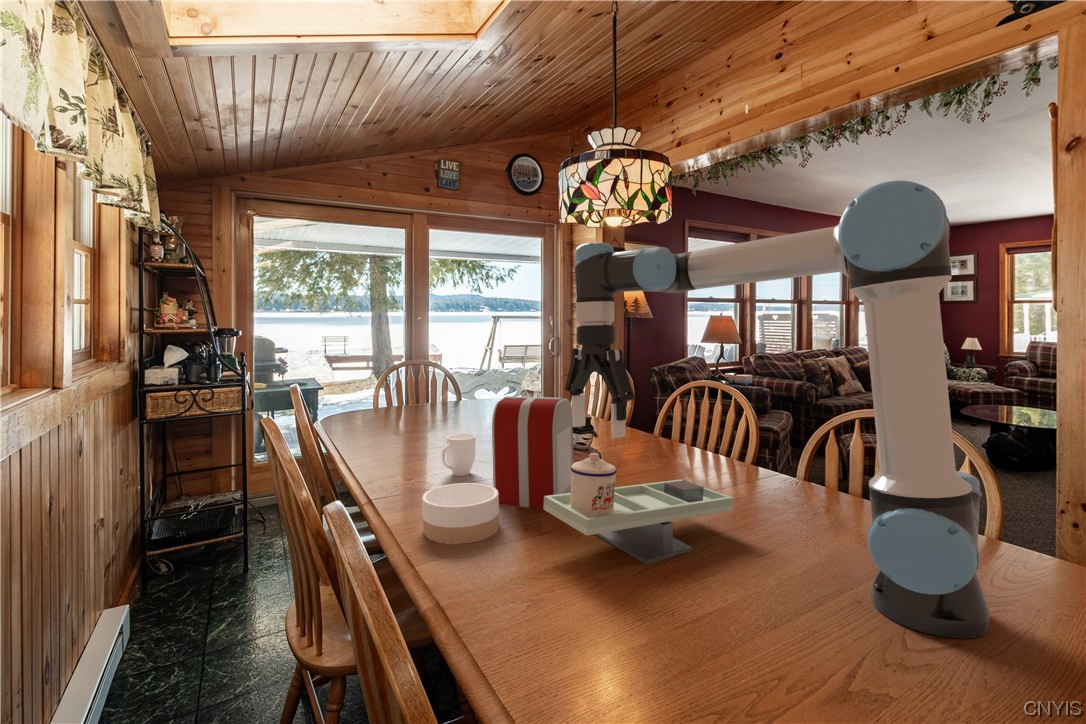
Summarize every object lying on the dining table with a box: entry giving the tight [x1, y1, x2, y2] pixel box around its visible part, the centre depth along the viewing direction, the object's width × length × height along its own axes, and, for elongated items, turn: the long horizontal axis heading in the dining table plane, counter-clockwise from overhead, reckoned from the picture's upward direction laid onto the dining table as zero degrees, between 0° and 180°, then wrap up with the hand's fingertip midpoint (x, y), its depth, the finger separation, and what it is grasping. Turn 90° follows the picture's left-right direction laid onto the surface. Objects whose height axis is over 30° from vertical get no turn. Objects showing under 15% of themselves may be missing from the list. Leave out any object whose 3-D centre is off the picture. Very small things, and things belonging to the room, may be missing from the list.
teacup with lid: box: [570, 452, 617, 518], centre depth 109 cm, size 12×9×12 cm
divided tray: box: [543, 479, 735, 536], centre depth 114 cm, size 16×38×3 cm, turn 119°
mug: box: [441, 433, 477, 477], centre depth 167 cm, size 12×9×12 cm
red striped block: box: [491, 395, 574, 510], centre depth 144 cm, size 17×18×27 cm
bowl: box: [421, 482, 500, 545], centre depth 123 cm, size 17×17×8 cm
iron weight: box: [664, 479, 705, 503], centre depth 120 cm, size 6×6×3 cm
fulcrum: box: [594, 521, 693, 566], centre depth 114 cm, size 18×12×7 cm, turn 29°
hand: (597, 431), depth 107 cm, fingers open, 13 cm apart
